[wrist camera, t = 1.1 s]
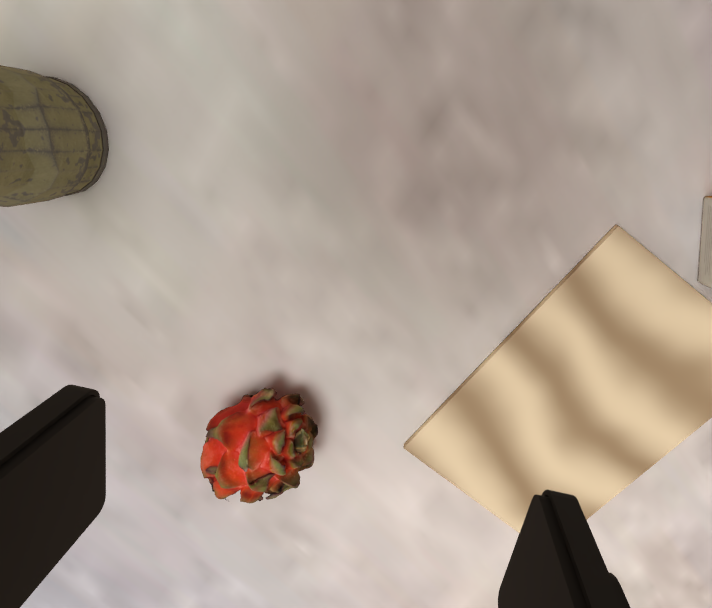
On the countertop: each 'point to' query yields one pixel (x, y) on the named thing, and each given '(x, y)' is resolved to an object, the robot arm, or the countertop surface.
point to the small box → (706, 244)
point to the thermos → (47, 138)
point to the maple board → (580, 388)
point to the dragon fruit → (258, 446)
